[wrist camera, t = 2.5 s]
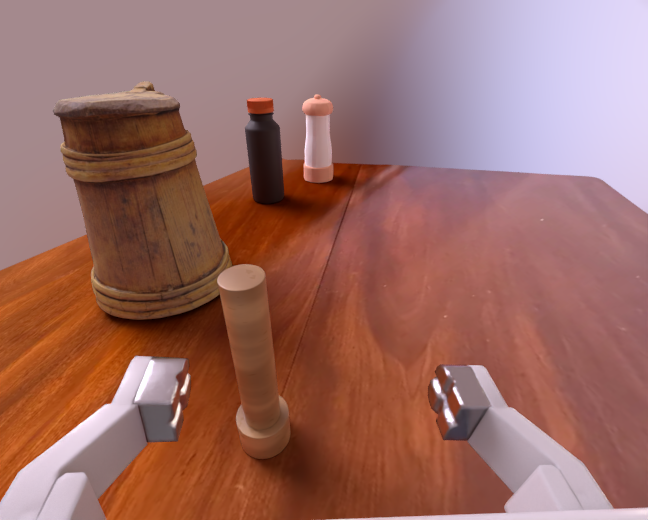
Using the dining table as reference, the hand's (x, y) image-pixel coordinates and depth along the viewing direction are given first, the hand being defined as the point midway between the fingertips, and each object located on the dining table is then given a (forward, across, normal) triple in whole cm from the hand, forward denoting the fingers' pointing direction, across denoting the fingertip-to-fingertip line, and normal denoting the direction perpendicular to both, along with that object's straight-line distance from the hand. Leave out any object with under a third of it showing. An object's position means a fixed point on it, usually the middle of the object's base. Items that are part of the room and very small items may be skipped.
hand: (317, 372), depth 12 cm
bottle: (+66, -3, -24) cm, 70 cm away
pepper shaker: (+78, +8, -22) cm, 82 cm away
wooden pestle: (+10, -1, -21) cm, 24 cm away
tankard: (+38, -16, -24) cm, 48 cm away
